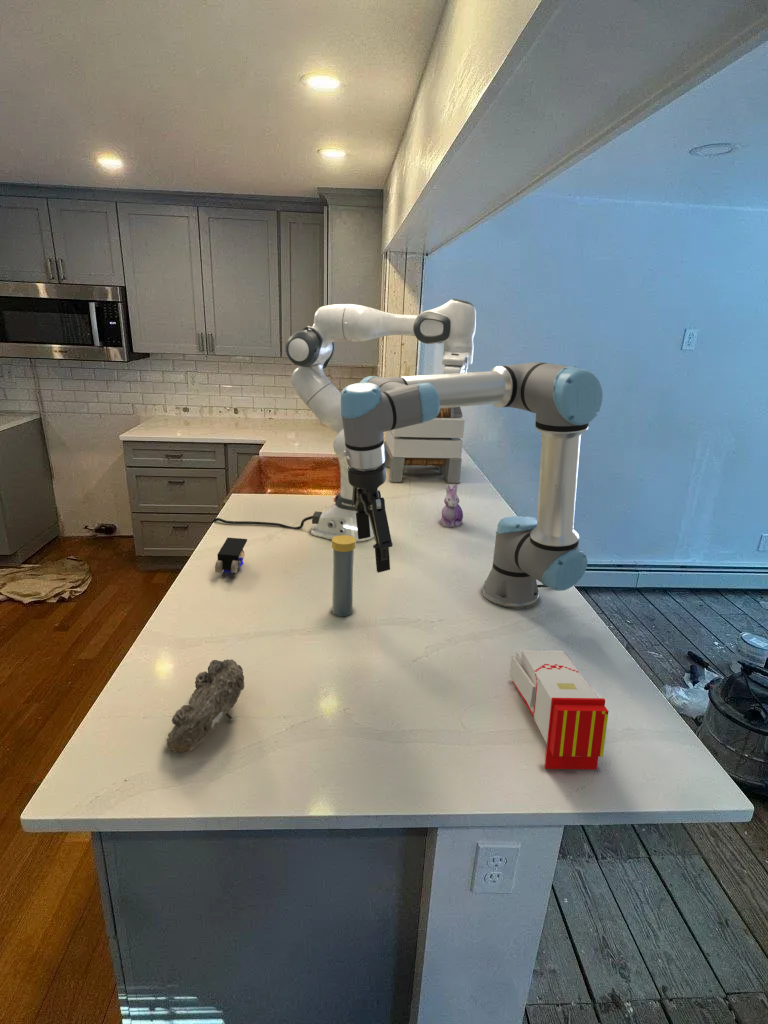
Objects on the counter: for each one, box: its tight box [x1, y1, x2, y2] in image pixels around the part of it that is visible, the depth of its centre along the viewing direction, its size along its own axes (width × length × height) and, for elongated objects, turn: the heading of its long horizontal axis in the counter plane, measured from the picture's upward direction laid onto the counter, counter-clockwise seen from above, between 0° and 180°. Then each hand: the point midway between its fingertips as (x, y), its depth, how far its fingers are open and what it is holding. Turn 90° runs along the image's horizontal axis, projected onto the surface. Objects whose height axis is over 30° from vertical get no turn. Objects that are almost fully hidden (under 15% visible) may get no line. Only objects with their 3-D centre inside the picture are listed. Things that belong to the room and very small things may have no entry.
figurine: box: [440, 483, 464, 528], centre depth 209 cm, size 9×10×15 cm
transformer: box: [384, 407, 465, 484], centre depth 268 cm, size 34×33×41 cm
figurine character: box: [214, 537, 248, 578], centre depth 166 cm, size 7×8×15 cm
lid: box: [331, 535, 357, 552], centre depth 141 cm, size 6×6×2 cm
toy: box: [509, 649, 610, 771], centre depth 110 cm, size 12×13×30 cm
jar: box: [331, 549, 355, 617], centre depth 144 cm, size 5×5×20 cm
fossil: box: [166, 658, 245, 754], centre depth 106 cm, size 22×10×15 cm
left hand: (454, 403), depth 174 cm, fingers open, 8 cm apart
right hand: (373, 553), depth 122 cm, fingers open, 13 cm apart
